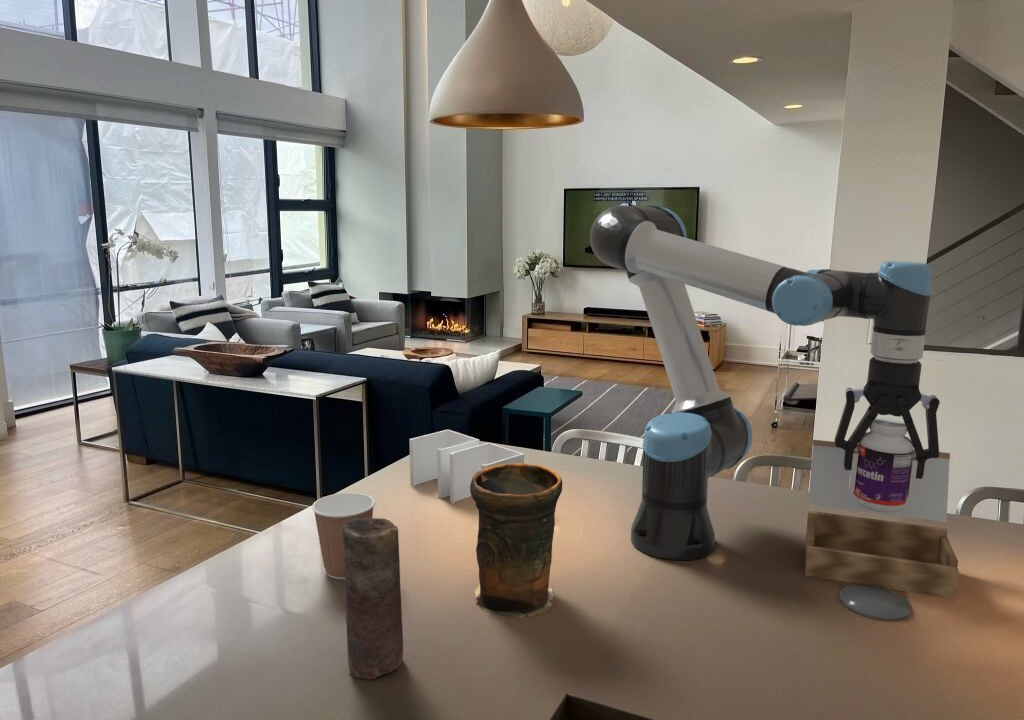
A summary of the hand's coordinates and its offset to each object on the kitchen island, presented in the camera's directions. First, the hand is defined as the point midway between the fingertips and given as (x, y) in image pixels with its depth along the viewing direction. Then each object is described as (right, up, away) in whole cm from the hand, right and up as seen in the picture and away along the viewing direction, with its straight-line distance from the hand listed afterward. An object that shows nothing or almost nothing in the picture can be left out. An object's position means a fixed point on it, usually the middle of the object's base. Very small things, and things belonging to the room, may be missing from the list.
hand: (880, 491), depth 125 cm
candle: (-80, -19, -24) cm, 85 cm away
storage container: (-72, -7, +38) cm, 81 cm away
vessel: (-61, -16, -6) cm, 63 cm away
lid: (+3, +1, +7) cm, 8 cm away
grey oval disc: (-5, -16, -8) cm, 19 cm away
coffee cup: (-90, -14, +2) cm, 91 cm away
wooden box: (0, -14, +2) cm, 14 cm away
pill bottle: (0, -2, 0) cm, 3 cm away
